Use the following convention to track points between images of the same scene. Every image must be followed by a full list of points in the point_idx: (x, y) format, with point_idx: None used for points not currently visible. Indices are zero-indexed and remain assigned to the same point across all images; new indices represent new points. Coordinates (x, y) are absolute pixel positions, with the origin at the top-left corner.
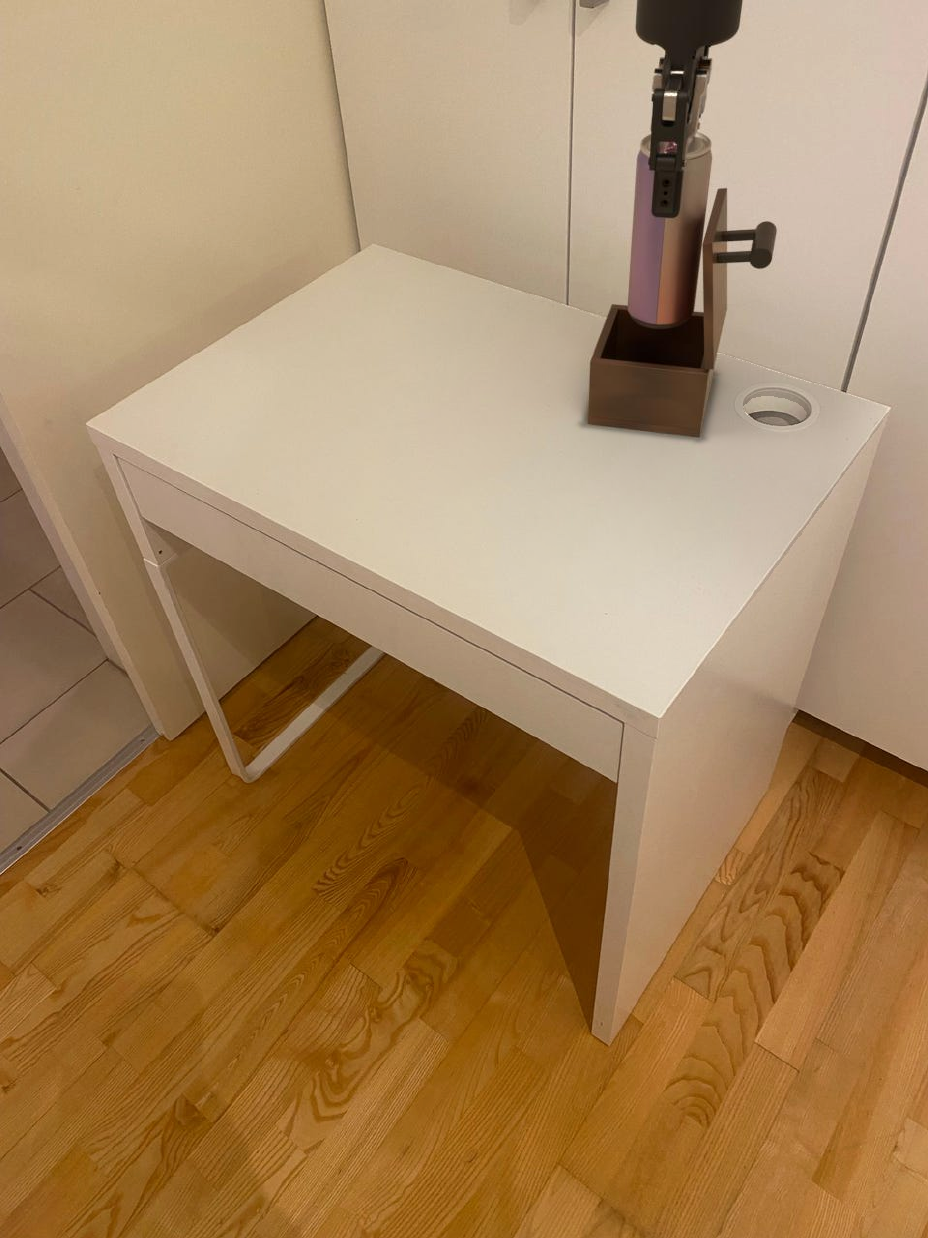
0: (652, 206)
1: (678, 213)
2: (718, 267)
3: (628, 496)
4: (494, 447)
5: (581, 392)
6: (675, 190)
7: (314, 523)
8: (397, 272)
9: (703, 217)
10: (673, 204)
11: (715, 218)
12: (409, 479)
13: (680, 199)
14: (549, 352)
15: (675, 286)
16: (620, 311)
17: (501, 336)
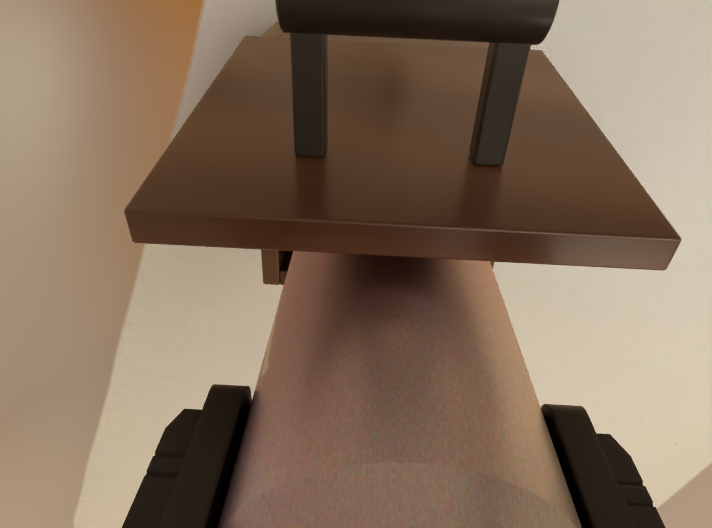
0: None
1: (585, 410)
2: (453, 136)
3: (670, 142)
4: (531, 339)
5: None
6: (635, 515)
7: (676, 475)
8: (119, 507)
9: (439, 283)
10: (637, 470)
11: (439, 239)
12: (600, 413)
13: (591, 452)
14: (269, 309)
15: None
16: (280, 263)
17: (242, 374)
